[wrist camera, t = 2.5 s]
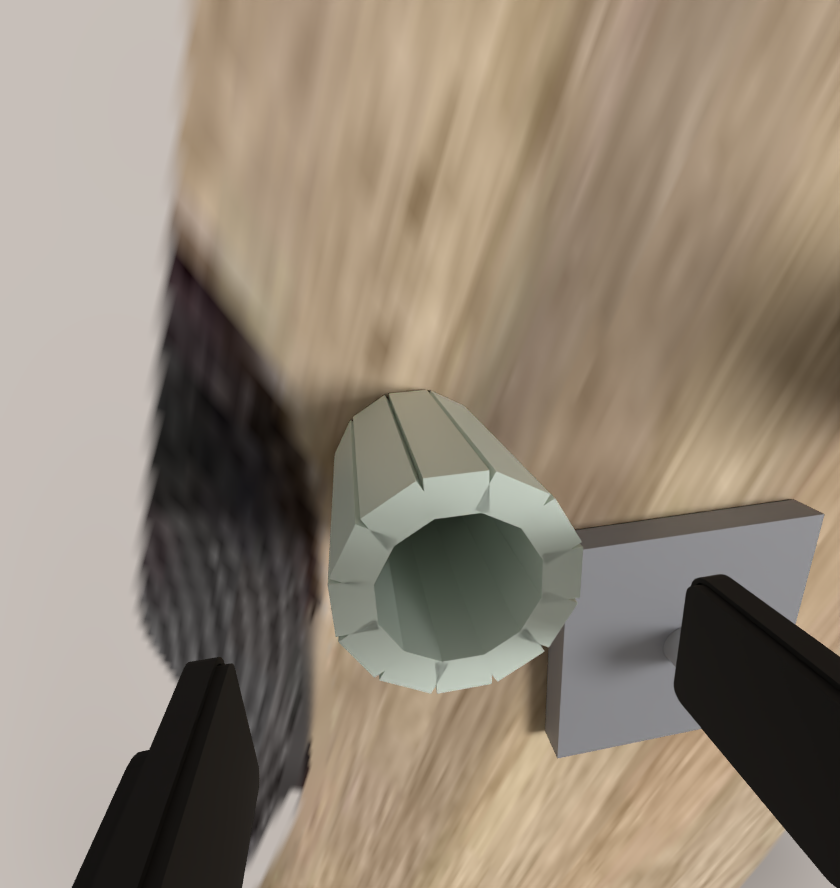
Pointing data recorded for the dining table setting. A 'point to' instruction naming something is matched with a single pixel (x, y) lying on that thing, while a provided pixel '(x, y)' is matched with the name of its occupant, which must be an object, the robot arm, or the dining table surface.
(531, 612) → the sage tube
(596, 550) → the roll stand
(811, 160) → the dining table surface
